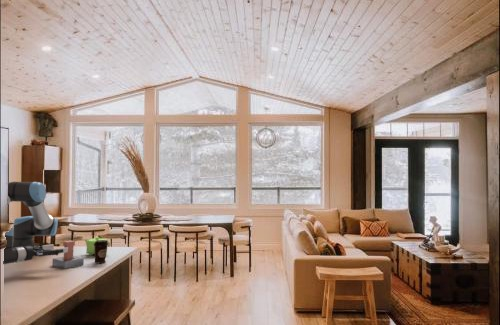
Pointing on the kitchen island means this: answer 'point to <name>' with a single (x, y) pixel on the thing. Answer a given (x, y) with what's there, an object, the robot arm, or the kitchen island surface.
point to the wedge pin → (70, 245)
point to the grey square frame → (67, 262)
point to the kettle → (92, 245)
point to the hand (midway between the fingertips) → (60, 248)
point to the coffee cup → (100, 250)
